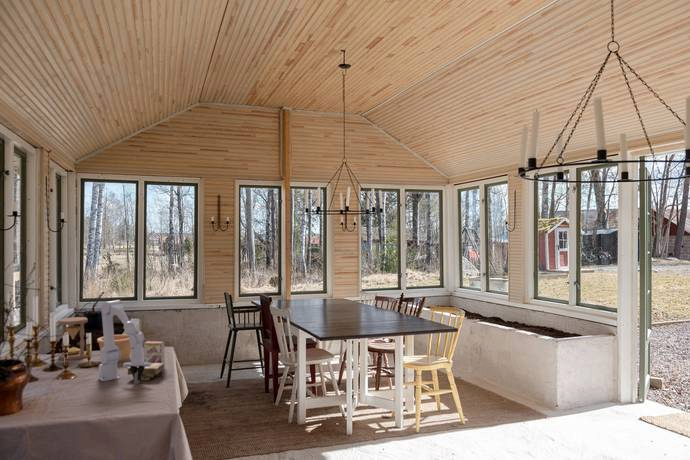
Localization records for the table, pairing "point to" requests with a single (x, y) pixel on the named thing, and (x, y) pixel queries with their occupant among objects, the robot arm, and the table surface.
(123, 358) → the pottery
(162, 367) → the tan cardboard box
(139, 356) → the robot arm
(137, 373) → the grey t-shaped piece
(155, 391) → the table surface
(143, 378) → the brass disc
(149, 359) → the candy bar box
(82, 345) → the hourglass
